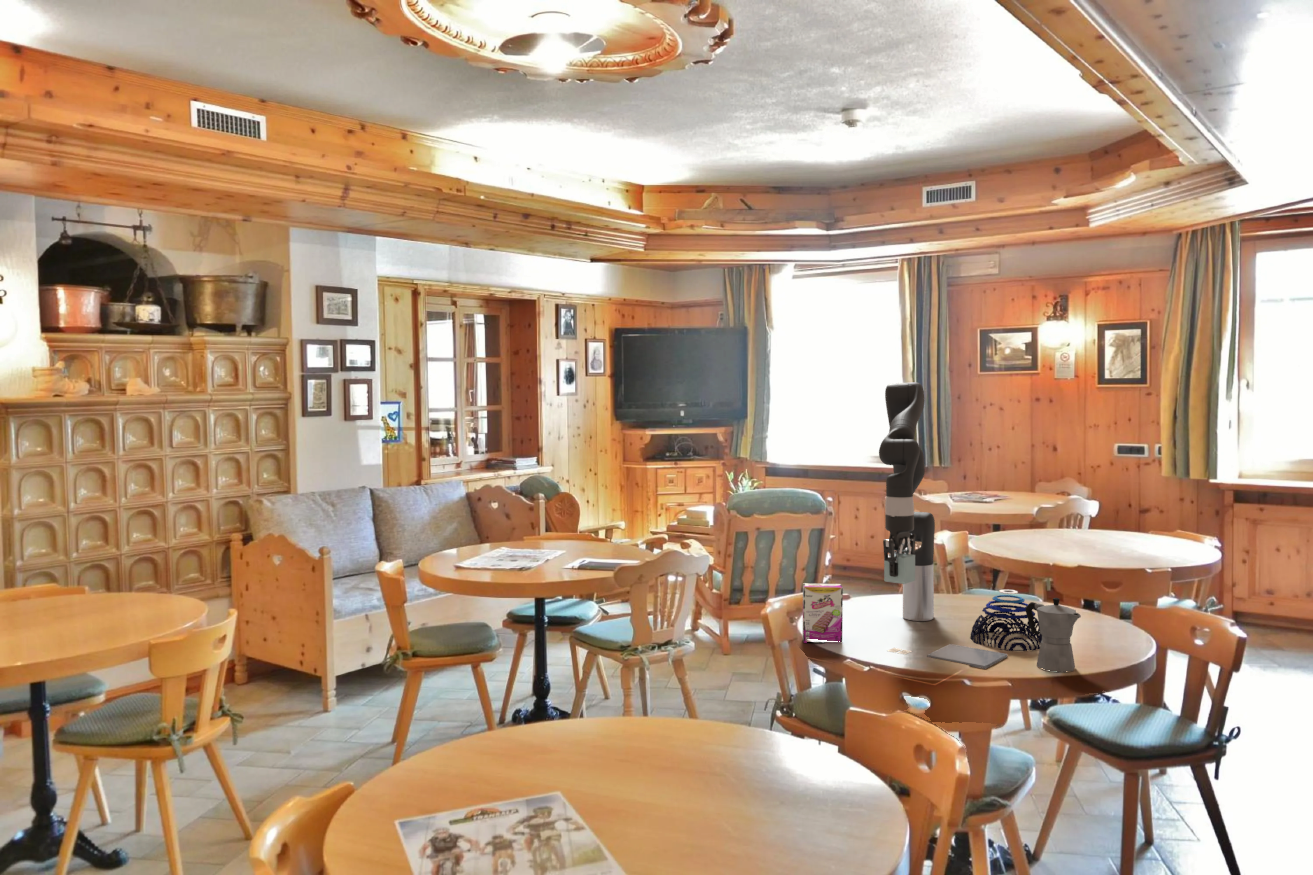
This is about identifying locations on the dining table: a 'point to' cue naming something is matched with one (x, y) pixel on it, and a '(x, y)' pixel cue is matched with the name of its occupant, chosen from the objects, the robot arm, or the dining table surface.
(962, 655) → the slate plate
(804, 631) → the candy bar box
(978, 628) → the decorative bowl
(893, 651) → the brown coaster
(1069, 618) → the coffeepot
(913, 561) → the pale green block
